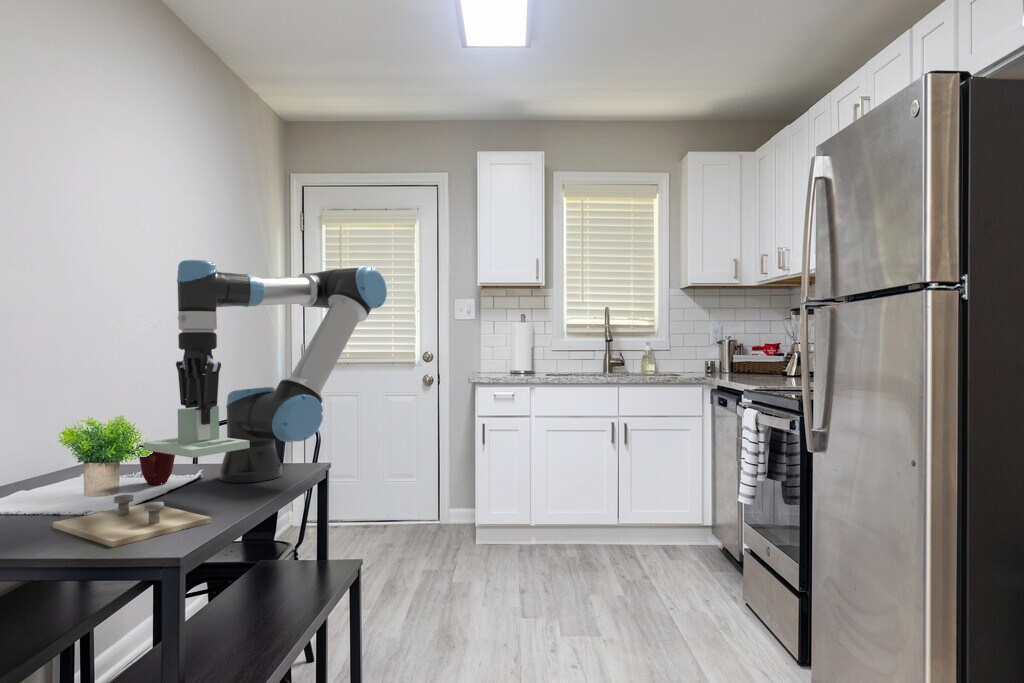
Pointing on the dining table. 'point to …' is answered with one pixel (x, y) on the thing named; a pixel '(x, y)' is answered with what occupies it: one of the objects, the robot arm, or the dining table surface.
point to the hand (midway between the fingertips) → (199, 438)
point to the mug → (156, 467)
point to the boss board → (130, 522)
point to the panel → (196, 446)
